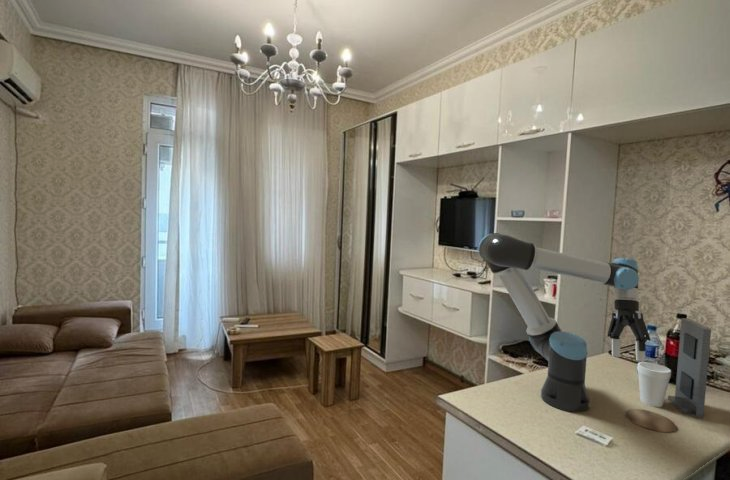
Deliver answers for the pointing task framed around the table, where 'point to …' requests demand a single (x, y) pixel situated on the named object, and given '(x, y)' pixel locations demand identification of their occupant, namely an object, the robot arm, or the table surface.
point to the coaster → (650, 420)
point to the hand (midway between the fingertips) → (627, 358)
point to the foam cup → (653, 383)
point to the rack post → (692, 368)
